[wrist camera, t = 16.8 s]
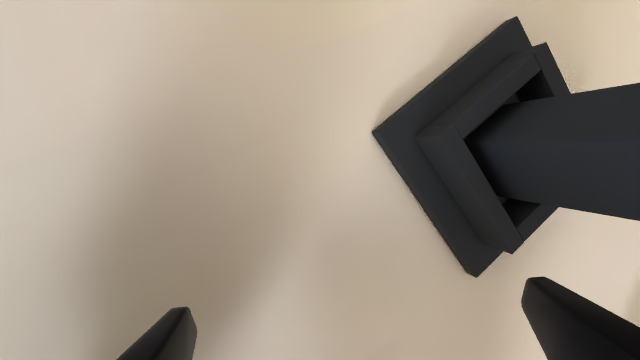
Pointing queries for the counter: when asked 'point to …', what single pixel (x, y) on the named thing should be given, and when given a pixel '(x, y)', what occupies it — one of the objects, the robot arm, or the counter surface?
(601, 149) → the post
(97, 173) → the counter surface
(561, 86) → the socket pad
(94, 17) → the counter surface
